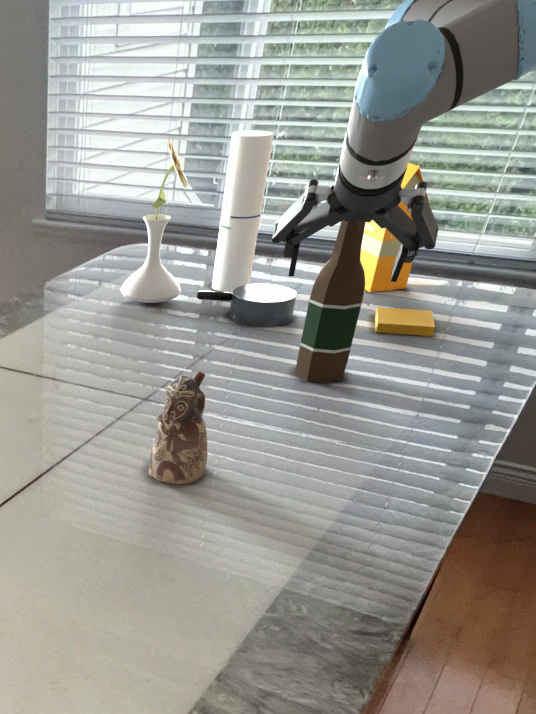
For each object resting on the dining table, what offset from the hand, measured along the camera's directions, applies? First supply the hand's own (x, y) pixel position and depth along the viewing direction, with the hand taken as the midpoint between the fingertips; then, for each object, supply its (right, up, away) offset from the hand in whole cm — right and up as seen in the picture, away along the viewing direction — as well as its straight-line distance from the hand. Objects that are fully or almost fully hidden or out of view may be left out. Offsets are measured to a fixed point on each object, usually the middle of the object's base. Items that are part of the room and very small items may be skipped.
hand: (343, 269), depth 117 cm
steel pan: (-4, +10, +34) cm, 36 cm away
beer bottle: (+1, -10, +12) cm, 16 cm away
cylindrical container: (-3, +22, +48) cm, 52 cm away
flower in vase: (-19, +18, +44) cm, 51 cm away
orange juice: (+25, +22, +46) cm, 57 cm away
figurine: (-26, -31, -10) cm, 42 cm away
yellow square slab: (+22, +5, +28) cm, 36 cm away
